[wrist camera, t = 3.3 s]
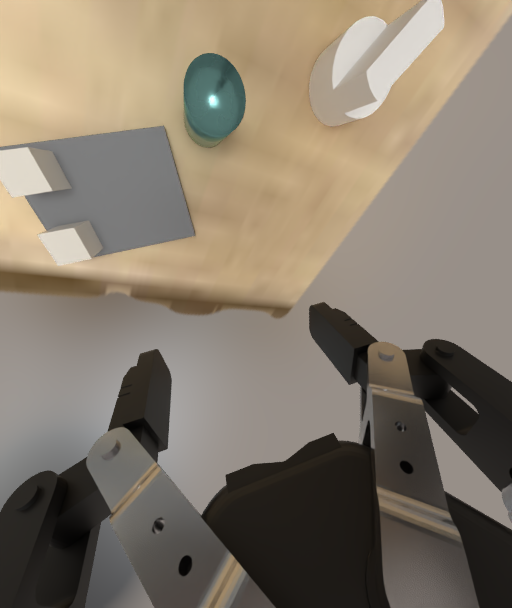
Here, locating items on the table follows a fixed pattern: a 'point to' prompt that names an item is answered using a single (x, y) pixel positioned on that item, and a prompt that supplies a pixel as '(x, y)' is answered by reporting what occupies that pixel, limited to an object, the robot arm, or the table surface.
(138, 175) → the slate board
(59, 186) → the cream cube
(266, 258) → the table surface
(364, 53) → the base with upright slab
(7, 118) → the table surface
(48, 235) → the cream cube
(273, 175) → the table surface
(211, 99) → the teal glass cylinder
